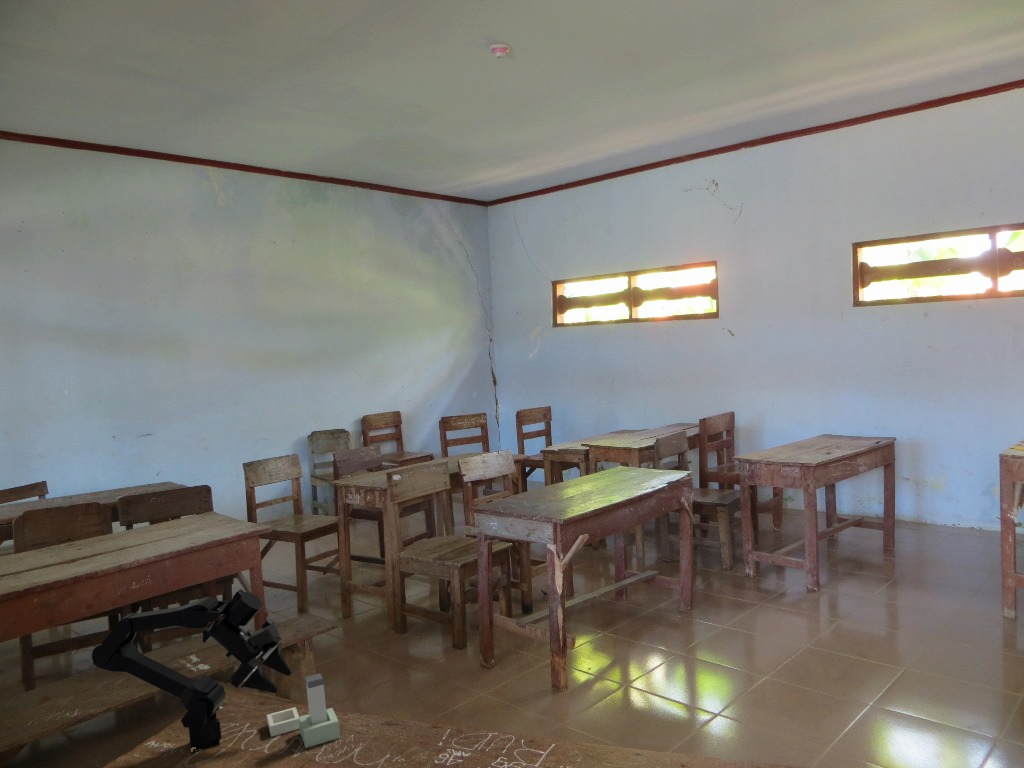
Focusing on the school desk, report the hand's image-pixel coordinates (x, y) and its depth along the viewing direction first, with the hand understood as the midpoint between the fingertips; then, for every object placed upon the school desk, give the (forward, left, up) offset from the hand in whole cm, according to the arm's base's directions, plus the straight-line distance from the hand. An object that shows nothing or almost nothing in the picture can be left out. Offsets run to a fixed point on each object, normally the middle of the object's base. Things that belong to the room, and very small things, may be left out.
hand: (283, 682), depth 176 cm
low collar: (0, +7, -13) cm, 15 cm away
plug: (+7, -3, -11) cm, 14 cm away
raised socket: (+7, -3, -13) cm, 15 cm away
